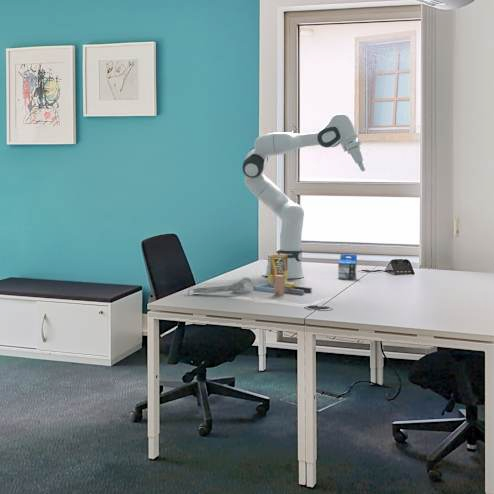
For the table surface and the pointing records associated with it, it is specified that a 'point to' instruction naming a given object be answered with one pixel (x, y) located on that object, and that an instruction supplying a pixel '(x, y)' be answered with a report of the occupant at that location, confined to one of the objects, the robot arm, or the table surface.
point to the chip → (290, 285)
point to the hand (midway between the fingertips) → (363, 170)
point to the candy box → (277, 267)
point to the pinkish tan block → (279, 285)
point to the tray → (264, 287)
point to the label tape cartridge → (347, 266)
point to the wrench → (225, 287)
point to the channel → (298, 290)
